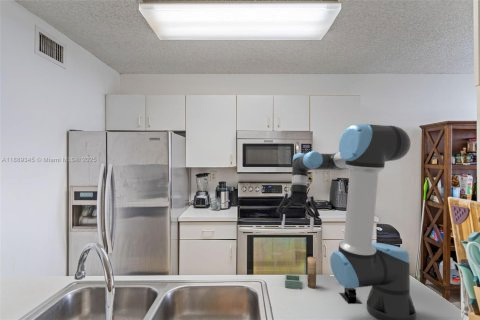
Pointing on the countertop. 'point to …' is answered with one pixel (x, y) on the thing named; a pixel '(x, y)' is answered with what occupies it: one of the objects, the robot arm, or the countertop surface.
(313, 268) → the block
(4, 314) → the countertop surface
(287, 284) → the cradle
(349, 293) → the black blocky piece
